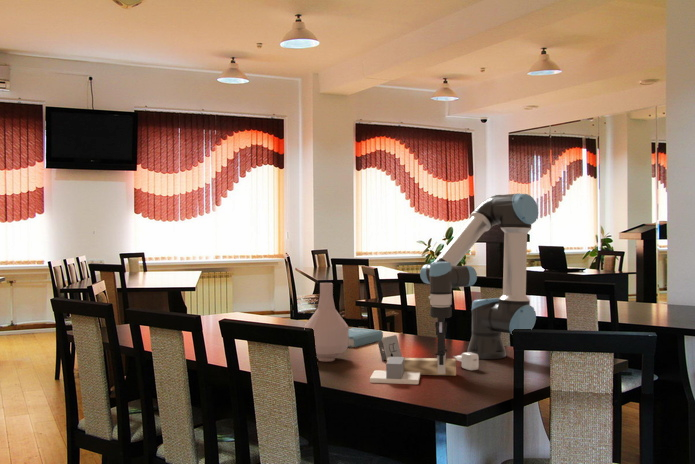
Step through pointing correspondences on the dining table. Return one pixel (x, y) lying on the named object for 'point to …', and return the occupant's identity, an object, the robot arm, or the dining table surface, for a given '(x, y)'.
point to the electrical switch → (389, 347)
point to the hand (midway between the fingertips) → (441, 372)
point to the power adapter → (468, 360)
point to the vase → (328, 326)
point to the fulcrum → (395, 373)
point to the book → (363, 336)
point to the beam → (429, 366)
